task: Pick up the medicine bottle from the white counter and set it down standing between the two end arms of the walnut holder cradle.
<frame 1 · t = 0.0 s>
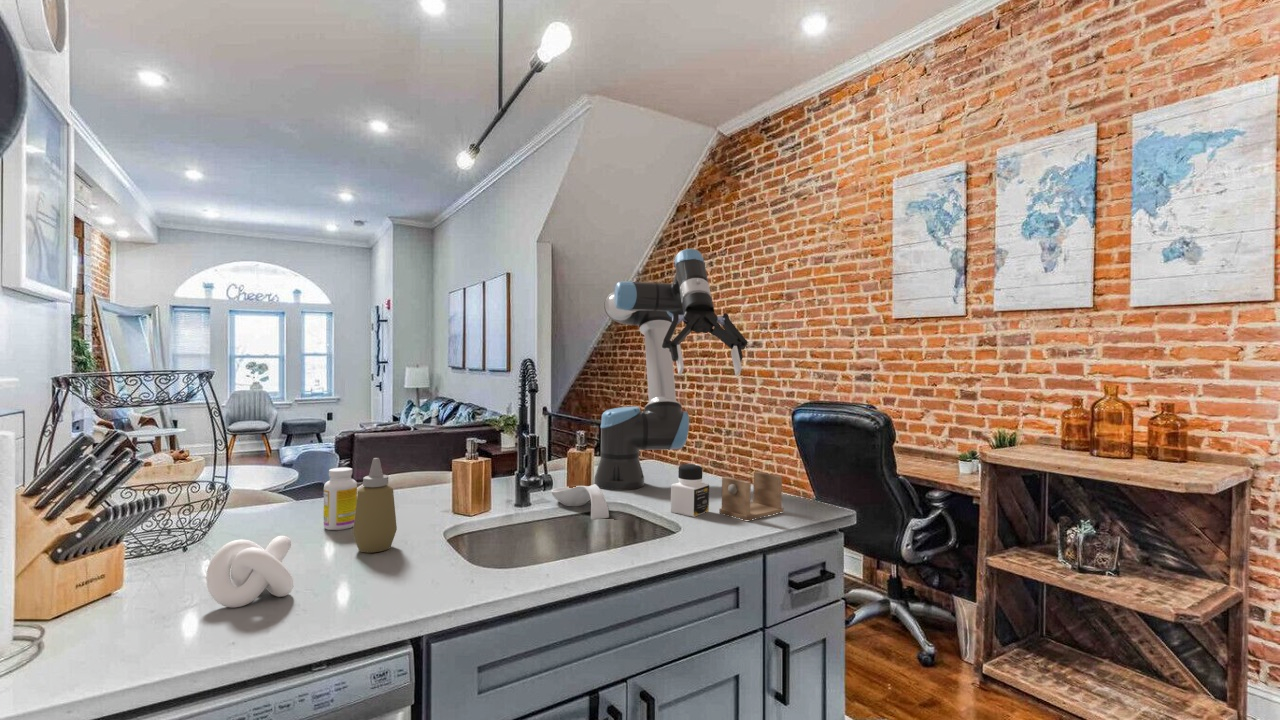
hand: (710, 371, 135), 36 cm above the counter, tool tilted 35°, fingers open, 13 cm apart
holder: (751, 513, 150), on the counter
squeeze bottle: (374, 549, 119), on the counter
medicine bottle: (689, 512, 151), on the counter
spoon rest: (582, 509, 153), on the counter
white knot sculpture: (258, 597, 95), on the counter
supplement bottle: (340, 527, 133), on the counter
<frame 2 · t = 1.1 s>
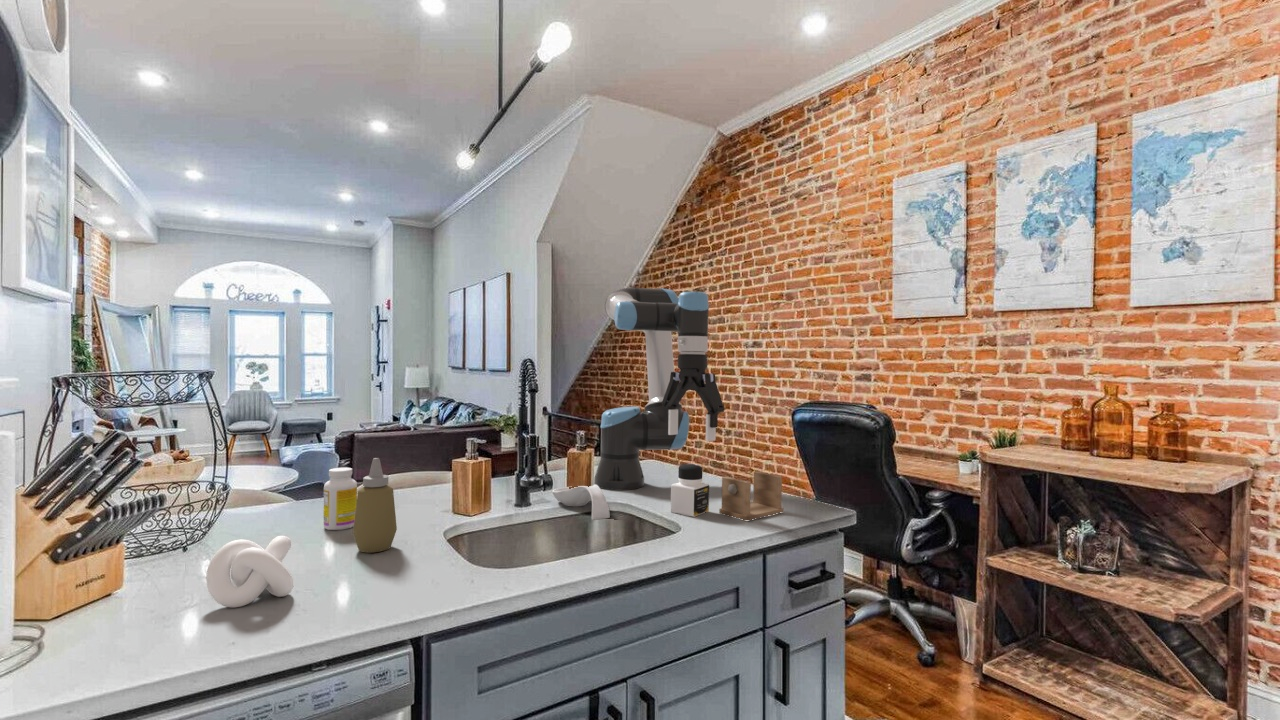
hand: (691, 437, 150), 19 cm above the counter, tool pointing down, fingers open, 13 cm apart
nothing on the counter moved.
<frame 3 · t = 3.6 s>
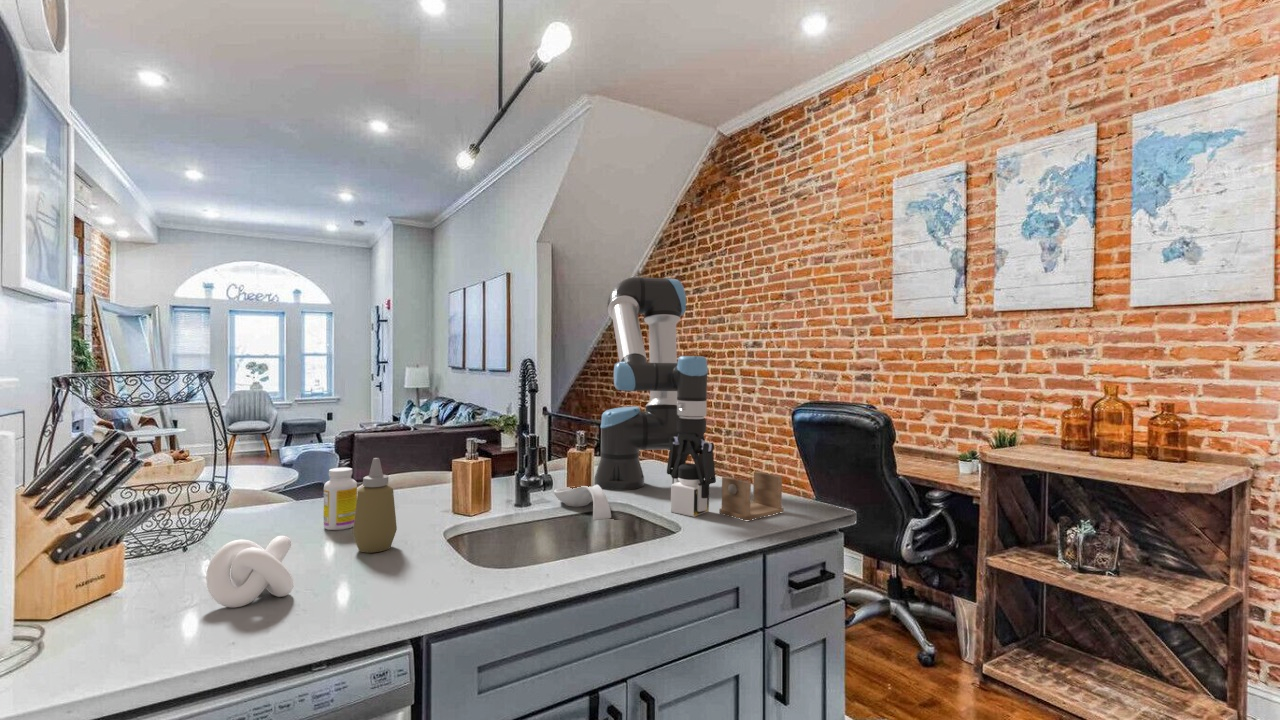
hand: (689, 506, 151), 1 cm above the counter, tool pointing down, fingers closed on medicine bottle, 8 cm apart
medicine bottle: (689, 512, 151), on the counter, touching gripper
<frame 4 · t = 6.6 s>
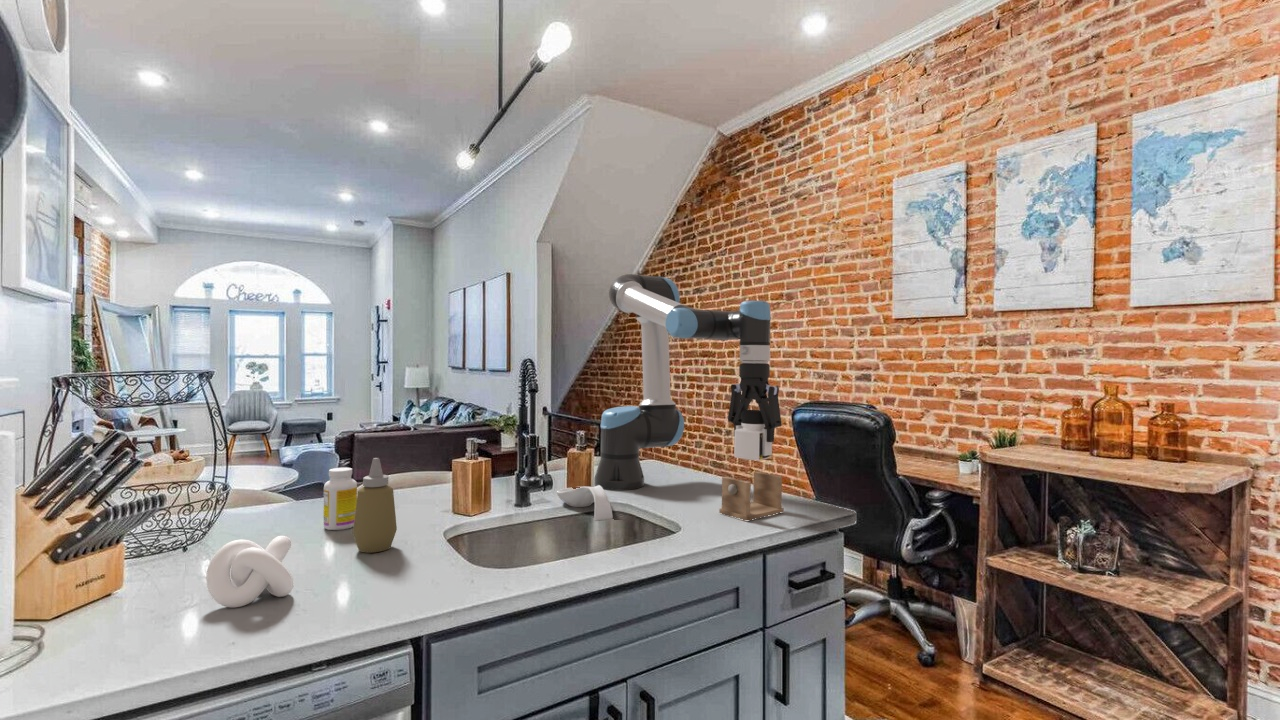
hand: (753, 452, 150), 15 cm above the counter, tool pointing down, fingers closed on medicine bottle, 8 cm apart
medicine bottle: (753, 458, 150), point 14 cm above the counter, touching gripper
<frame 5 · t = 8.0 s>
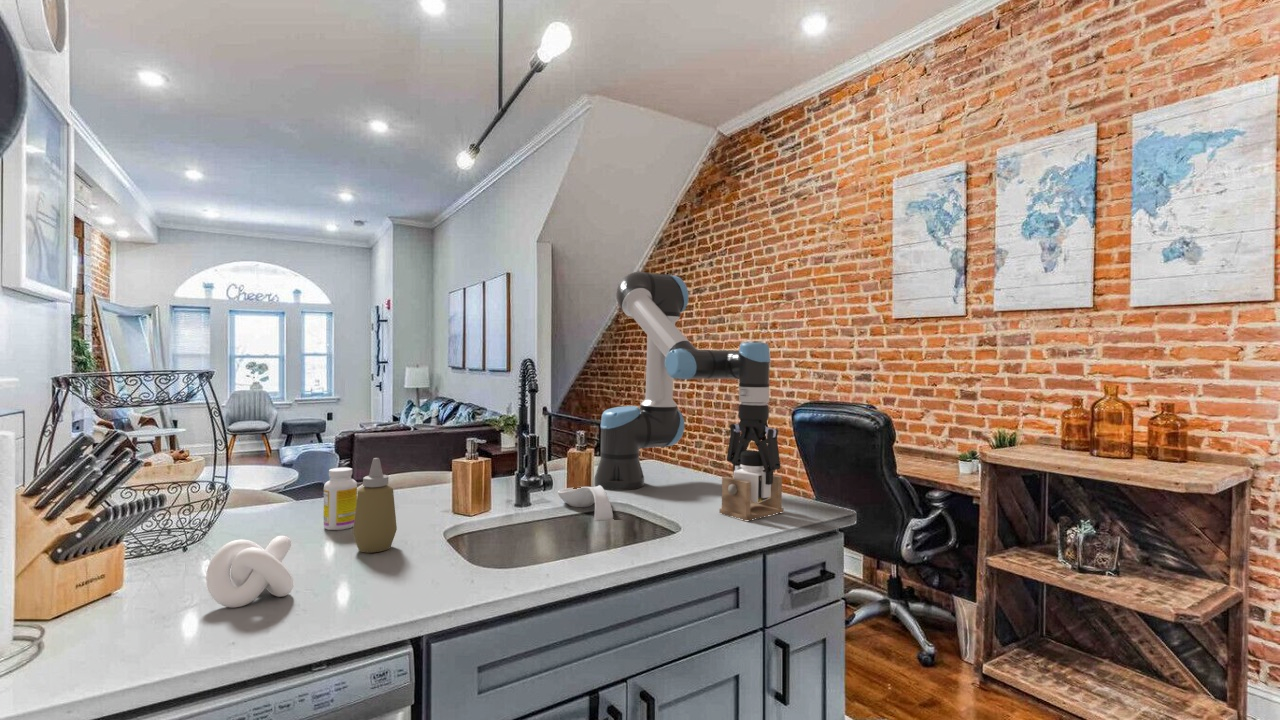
hand: (752, 493, 150), 5 cm above the counter, tool pointing down, fingers closed on medicine bottle, 8 cm apart
medicine bottle: (752, 499, 150), point 3 cm above the counter, touching gripper
when the fingers open (4 cm above the counter, at t = 9.4 s): medicine bottle drops 1 cm, resting on holder.
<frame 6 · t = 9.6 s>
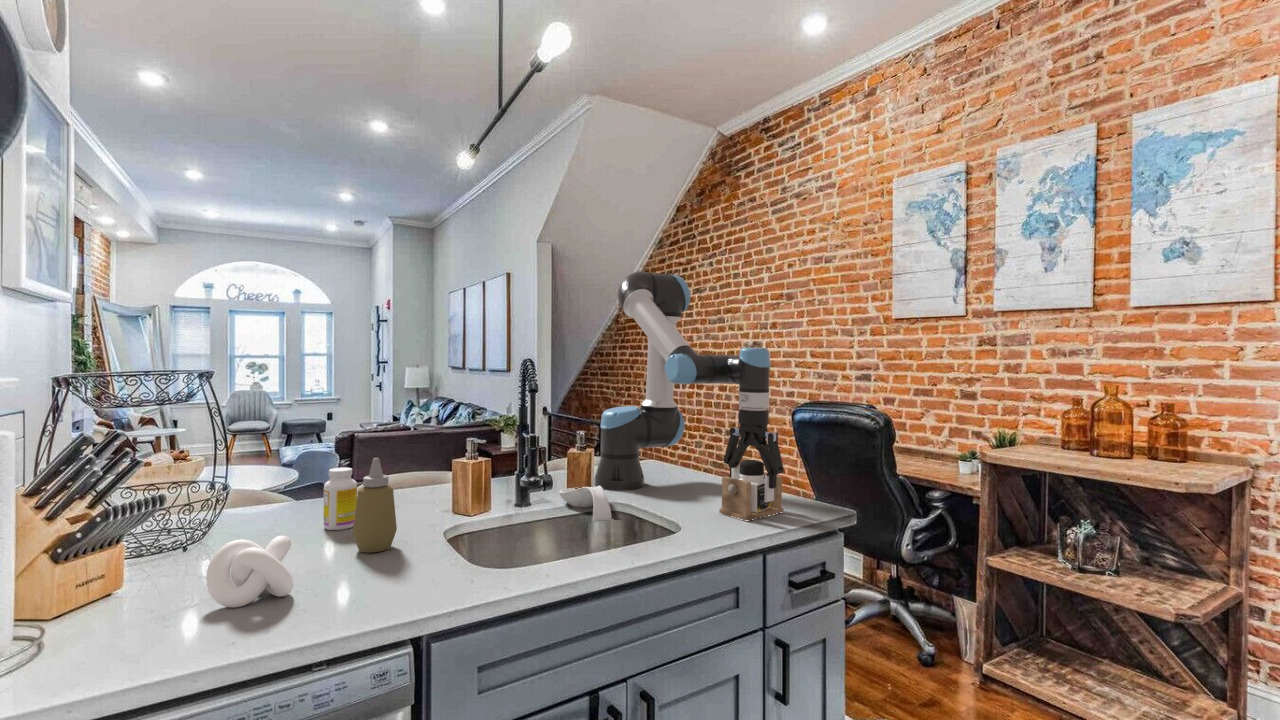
hand: (751, 496, 150), 4 cm above the counter, tool pointing down, fingers open, 10 cm apart
medicine bottle: (751, 509, 150), point 1 cm above the counter, touching holder
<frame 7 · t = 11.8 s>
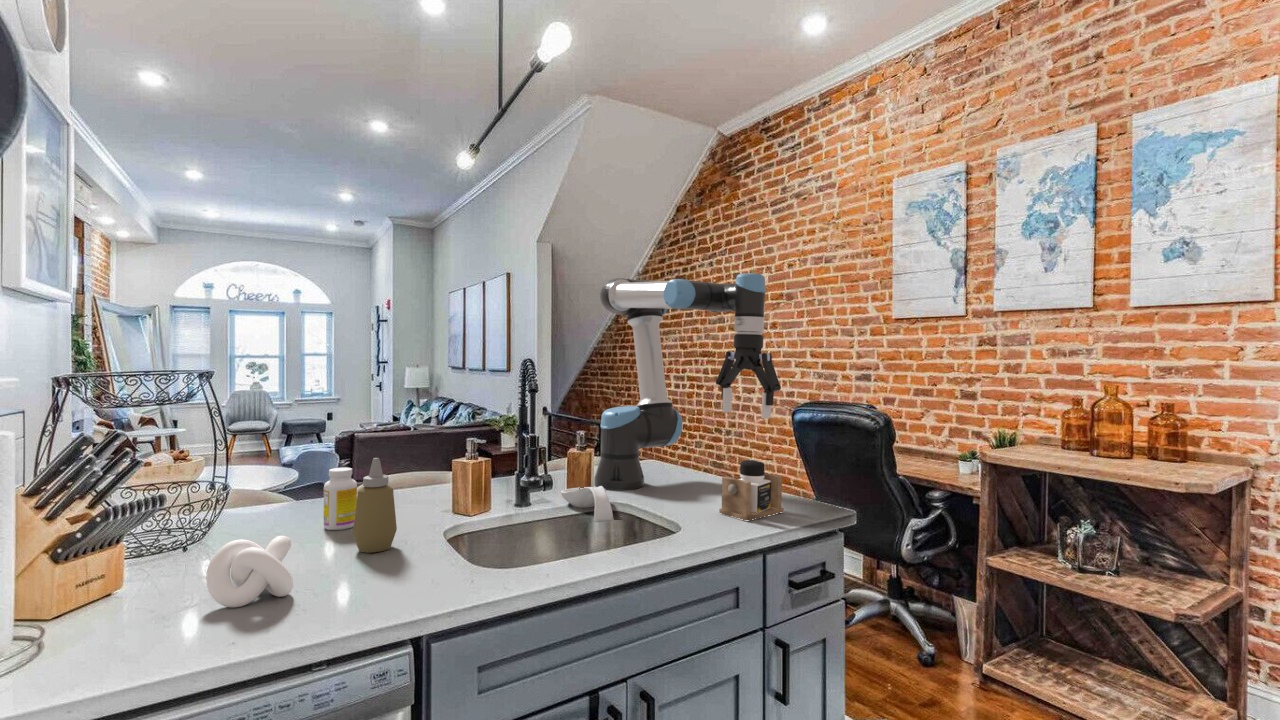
hand: (745, 415, 156), 24 cm above the counter, tool pointing down, fingers open, 13 cm apart
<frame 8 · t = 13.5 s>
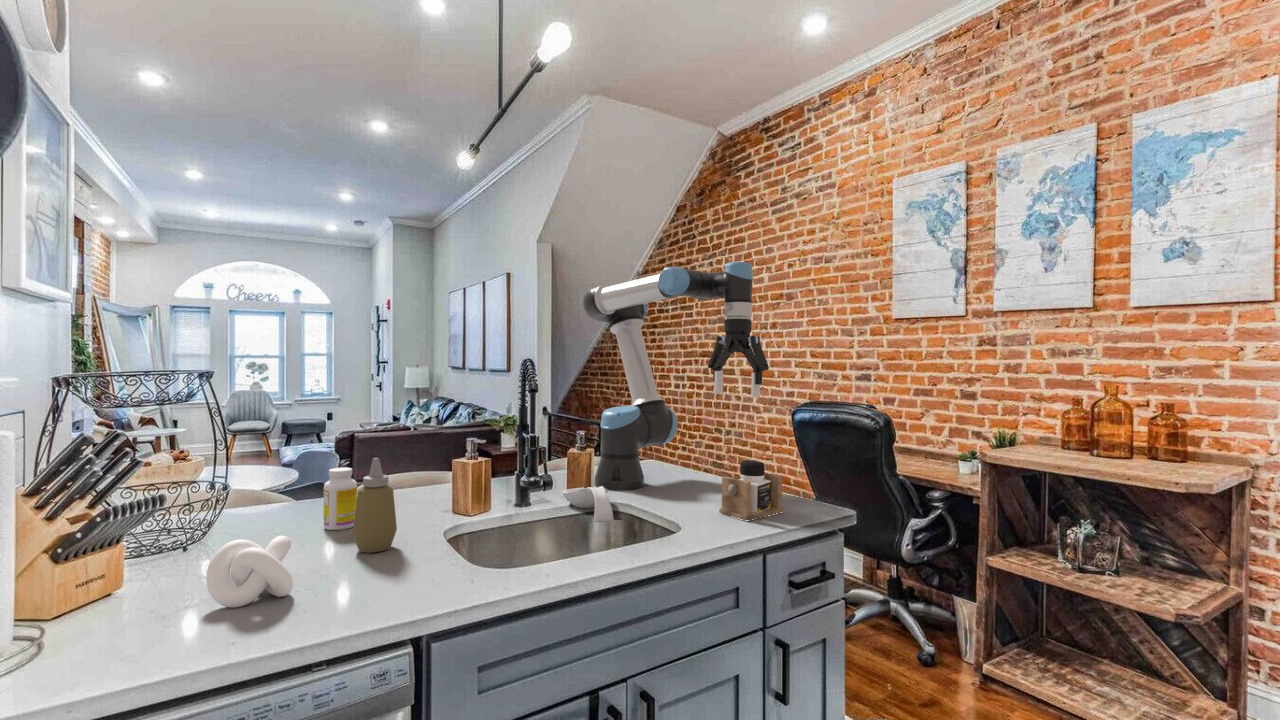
hand: (736, 395, 165), 29 cm above the counter, tool pointing down, fingers open, 13 cm apart
at the end: medicine bottle inside the target area on the holder (0.1 cm from its centre), point 1.0 cm above the holder's base; medicine bottle tilted 0°; the gripper is holding nothing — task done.
